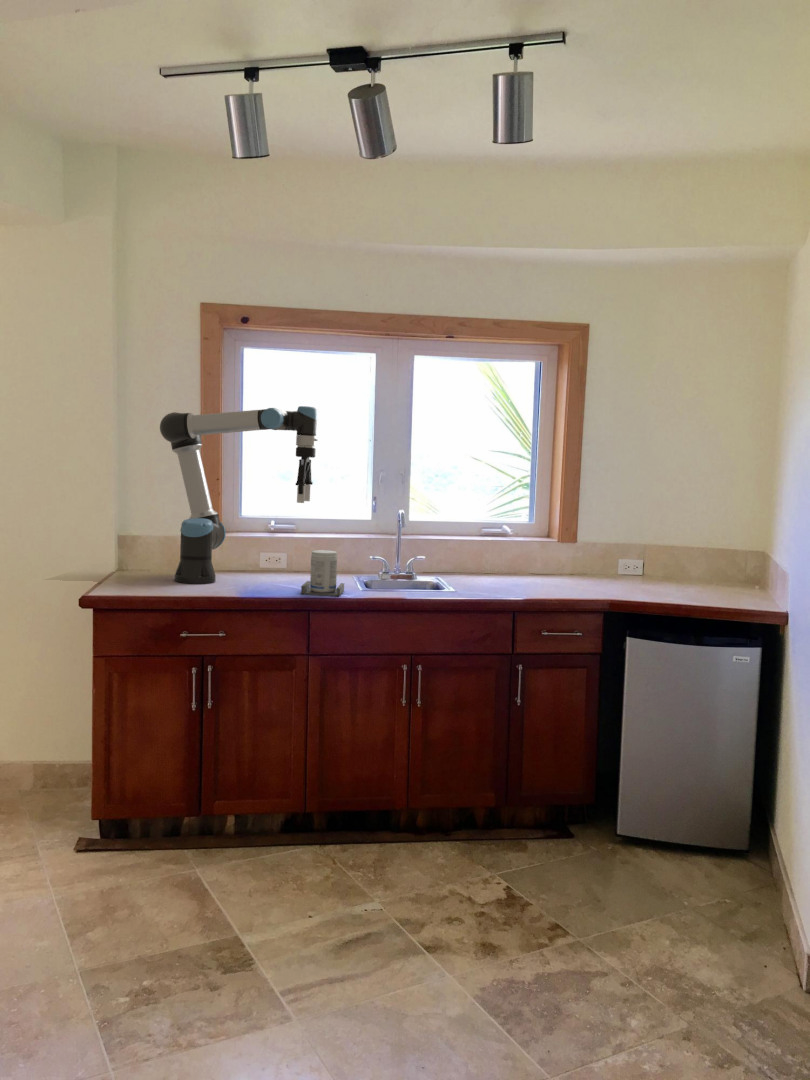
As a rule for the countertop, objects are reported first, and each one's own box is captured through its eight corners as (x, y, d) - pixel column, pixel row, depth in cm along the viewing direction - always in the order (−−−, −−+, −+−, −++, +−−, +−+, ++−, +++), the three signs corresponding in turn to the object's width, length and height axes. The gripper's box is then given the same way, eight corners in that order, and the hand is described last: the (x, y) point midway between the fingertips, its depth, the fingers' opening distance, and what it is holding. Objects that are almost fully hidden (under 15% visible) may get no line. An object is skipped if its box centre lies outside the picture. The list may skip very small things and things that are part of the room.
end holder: (301, 594, 324) (301, 585, 324) (306, 588, 337) (307, 581, 337) (339, 596, 324) (340, 588, 323) (343, 591, 337) (344, 583, 336)
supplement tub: (330, 588, 337) (332, 549, 335) (339, 593, 328) (341, 553, 327) (305, 589, 332) (307, 549, 331) (314, 593, 324) (316, 552, 323)
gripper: (310, 447, 334) (307, 504, 336) (320, 447, 359) (317, 500, 361) (290, 445, 334) (288, 502, 336) (301, 446, 359) (299, 499, 361)
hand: (303, 502), depth 349 cm, fingers open, 13 cm apart
